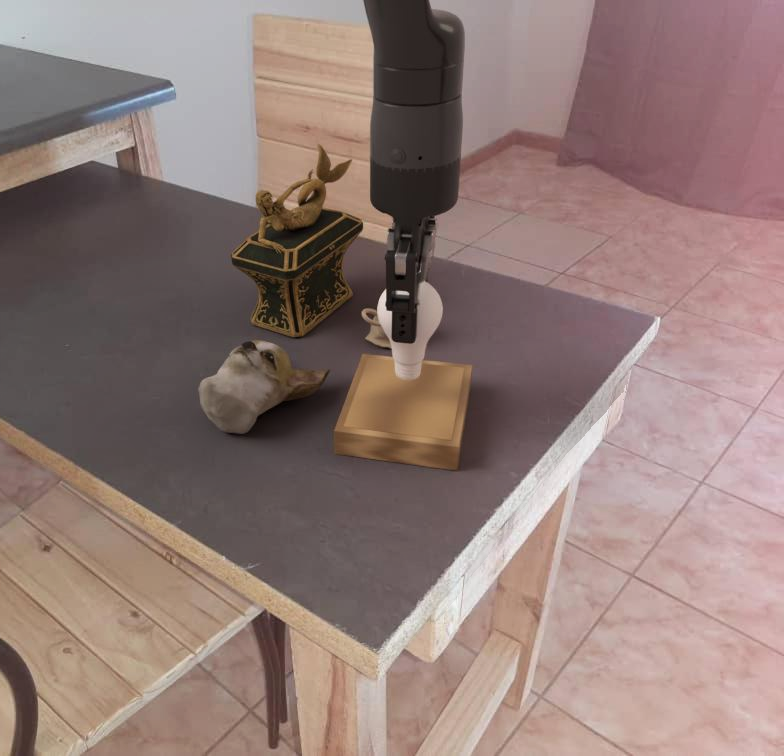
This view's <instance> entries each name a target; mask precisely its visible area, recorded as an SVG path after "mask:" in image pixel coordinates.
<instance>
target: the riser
mask: <svg viewBox="0 0 784 756" xmlns="http://www.w3.org/2000/svg"><path fill="white" fill-rule="evenodd" d="M394 361H395V360H394V358H393V356H387V355H380V354H379V355H378V354H368V353H362V354H361V357H360V360H359V362H358V365H357V368H356V370H355V373H354V376H353V379H352V381H351V383H350V386H349V389H348V392H347V395H346V397H345V400H344V402H343V405H342V408H341V410H340V413H339V416H338V418H337V422H336V424H335V427H334V430H333V444H334V445H333V447H334V455H340V456H347V457H348V456H349V457H354V458H362V459H369V460H375V461H376V460H377V461H385V462H391V463H397V464H405V465H413V466H420V467H427V468H433V469H434V468H435V469H441V470H449V471H458V470H459V464H460V463H459V462H460V457H461V450H462V444H463V437H464V432H465V425H466V418H467V413H468V406H469V401H470V400H469V399H470V394H471V387H472V377H473V364H464V363H458V362H457V363H455V362H448V361H447V362H445V361H437V360H427V359H423V360H422V365H421V372H420V376H419V377H418V378H416V379H414V380H411V381H405V380H402V379H400V378H398V377H397V376H396V374H395V362H394Z"/></svg>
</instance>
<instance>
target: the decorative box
mask: <svg viewBox="0 0 784 756" xmlns="http://www.w3.org/2000/svg"><path fill="white" fill-rule="evenodd" d="M317 148H318V149H317V151H318V159H317V163H316V167H315V171H314V169H313V168H312V169H311V170H309V171H308V174H307V177H306V178H305V179H302V180H299V181H296V182H295V183H292V184H291V185H289V186H288V188H287V189H286V190H285V191H284V192H282V194H281V195H280V196H278V197H277V198H276V200H273V199H274V198H273V195H272V193H271V192H270V191H269V190H263V189H262V190H259V191H257V192H256V193H255V205H256V206H257V208H258V209H259V211H260V213H262V215H261V219H260V221H259V229H258V231H255V233H253V234H252V235H250V236H248V237H246V239H245V240H244V241H243V242H242V243H241V244H240V245H239V246H237V248H236V249H235V250H233V251H232V252H231V254H230V258H231V264H232V266H233V267H235V268H236V269H238V270H239V271H240V272H242V273H243V274H244V275H246V276H248V277H249V278H250V279H251V280H252V281H253V282H254V284H255V285H256V287H257V292H258V293H257V294H258V295H257V296H258V297H257V302H256V304H255V307H254V309H253V312H252V313H251V316H250V322H251V325H253V326H257V327H260V328H262V329H266V330H269V331H271V332H275V333H278V334H281V335H285V336H287V337H290V338H300V337H304V336H305V335H306V334H308V333H309V332H310V331H311V330H313V329H314V328H315V327H317V325H318V324H320V323H321V322H322V321H324V320H325V319H326V318H327V317H328V316H330V315H331V314H332V313H333V312H334V311H336V310H337V309H338V308H340V307H341V306H342V305H343V304H344V303H346V302H347V301H348V300H349V299H351V298H352V297H353V296H354V295H353V294H354V293H353V291H352V289H351V287H350V286H349V284H348V282H347V281H346V279H345V276H344V271H343V264H344V258H345V255H346V253H347V250H348V249H349V247H350V246H351V245H352V244H353V242H354V241H355V240H356V239H357V238H358V236H359V235H360V234H361V233H362V232H363V230H364V222H363V220H362V219H361V218H359V217H357V216H354V215H352V214H350V213H347V212H345V211H341V210H337V209H332V208H327V207H324V203H325V201H326V199H327V187H326V184H329V183H335V182H337V181H339V180H340V179H342V177H343V176H344V175H346V173H347V171H348V169H349V168H350V166H351V164H352V162H353V159H352V158H350V159H348V160H346V161H344V162H340V163H338V164H336V165H335V166H334V168H332V167H331V166H332V162H331V159H330V157H329V156H328V153H327V152H326V150H325V149H324V147H323V146H322V145H321V144H320V143H317ZM331 168H332V169H331ZM314 173H315V175H316V177H317V178H312V175H313V174H314ZM299 188H301V189H300V191H299V193H298V196H297V205H298V206H295V207H294V208H292V209H289V208H286V207H285V204H284V203H285V201H286V200H287V199H288V198H289V197H290V196H291V195H292V193H293V192H294V191H295V190H297V189H299Z"/></svg>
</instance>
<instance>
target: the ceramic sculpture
mask: <svg viewBox="0 0 784 756" xmlns="http://www.w3.org/2000/svg"><path fill="white" fill-rule="evenodd" d="M330 372H331V368H325V369H321V370H314V369H309V368H301V369H293V368H292V364H291V361H290V357H289V355H288V353H287V352H286V351H285V349H283V348H282V347H281V346H279V345H277V344H276V343H272V342H269V341H266V340H260V339H254V340H251V341H250V340H249V341H248V340H247V341H245V342H243V343H241V345H239V346H236V347H235V348H234V349H232V350H231V351H230V353H229V355H228V357H226V359H225V360H224V362H223V363H222V365H221V366H220V368H219V369H218V370H217V372H216V374H214V375H212V376H208V377H205V378H203V379H202V380H201V381H200V383H199V387H198V388H197V390H198V394H199V402H200V406H201V408H202V410H203V411H202V412H204V413H205V415H206V416H207V418H208V420H209V421H211V422H212V423H213V424H214V425H215V426H216V427H217V428H218V429H219V430H220V431H221V432H225V433H229V434H239V435H244V434H246V433H248V432H250V430H251V429H252V428H253V427H254V425H255V424H256V421H257V418H258V417H259V416H260V415H262V414H263V413H265V412H266V411H268V410H270V409H272V408H274V407H275V406H276V407H277V405H279V404H281V403H282V402H289V401H294V400H297V399H302V398H306V397H309V396H310V395H312V394H314V393H315V392H316V391H317V390H318V389H319V388H320V387H321V386H322V385H323V384H324V383H325V381H326V379H327V377H328V375H329V374H330Z"/></svg>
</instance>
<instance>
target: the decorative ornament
mask: <svg viewBox="0 0 784 756" xmlns="http://www.w3.org/2000/svg"><path fill="white" fill-rule="evenodd" d="M367 314H370V315H373V318H372V319H371V318H370V317H368V315H367ZM361 317H362V318H363V320H364V321H365V322H366V323H368V324H370V330H369V333H368V335H366V336H365V338H364V340H366V341H368V342H370V343H372V344H373V345H375V346H378V347H380V348H387V349H391V350H392V347H391V343H390V340H389V338H388V336H387V335H386V333H385V332H384V330H383V328H382V326H381V324H380V323H379V319H378V315H377V309H374V308H369V307H368V308H363V310H361Z"/></svg>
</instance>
